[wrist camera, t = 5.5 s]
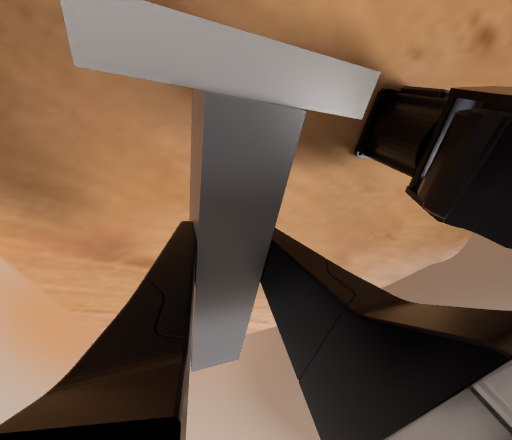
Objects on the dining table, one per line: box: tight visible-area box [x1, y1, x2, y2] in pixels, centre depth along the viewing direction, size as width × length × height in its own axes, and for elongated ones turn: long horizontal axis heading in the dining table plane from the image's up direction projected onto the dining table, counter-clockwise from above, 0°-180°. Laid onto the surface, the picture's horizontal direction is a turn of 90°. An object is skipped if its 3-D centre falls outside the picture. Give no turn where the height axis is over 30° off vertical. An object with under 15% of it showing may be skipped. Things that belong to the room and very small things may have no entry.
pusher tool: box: [60, 0, 381, 371], centre depth 9 cm, size 13×7×3 cm, turn 169°
